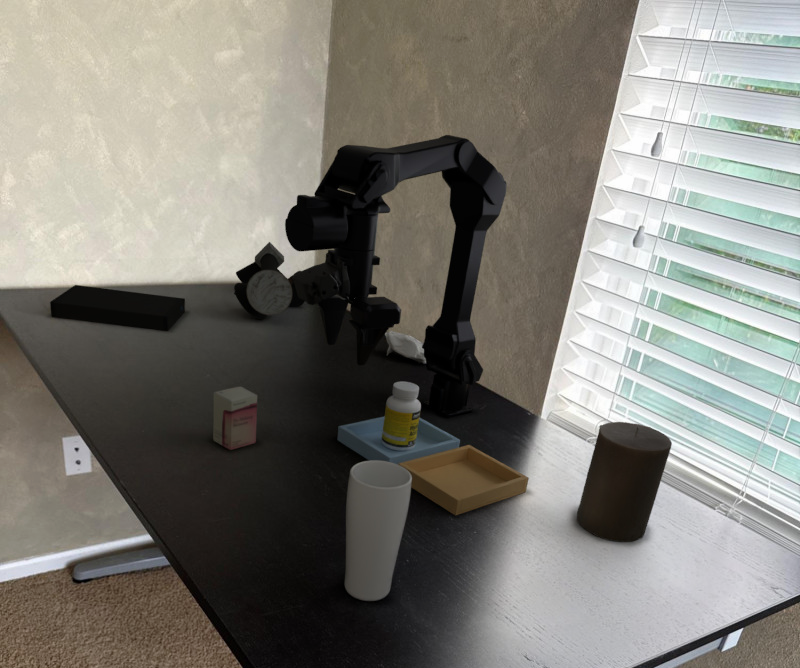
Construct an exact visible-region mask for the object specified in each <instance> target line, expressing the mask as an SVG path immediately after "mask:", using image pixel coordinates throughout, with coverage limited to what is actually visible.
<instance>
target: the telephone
mask: <svg viewBox="0 0 800 668" xmlns="http://www.w3.org/2000/svg"><path fill="white" fill-rule="evenodd" d="M284 263H285V256H284V254H283V253H281V251H280V250H278V248H276V246H275V245H274V244H272V242H271V241H268V242H267V244H265V246H264V247H262V249H261V250H260V251H259V252H258V253H257V254H256V255H255V256H254V262H251V263H249V264H248V265H246V266H244V267H243V268H241V269H239V270H236V272H235V275H236V277H237V278H238V280H239V281H240V282H236V283H235V284H234V287H233V290H234V292H233V295H235V296H236V300H237V301H238V302H239V304H240V306H241V307H242V308H243V309H244V310H245V311H246V312H247V313H248V314H249V315H250V316H252V317H254V318H255V319H257V320H266V319H267V317H268V316H276V315H279V314H281V313H283V312H284V311H285V310H287V309H288V307H292V308H298V307H300V306H303V304H304V303H306V301H304V300H303V299H300V298H298V294H297V291H296V287H295V284H294V280H293V275H294V274H296V273H298V272H301V271H302V270H298V271H296V272H294V274H292V275H291V276H290V277H288V278H287V277H286V276H285V274H283V273H282V272H281V271H280V270H279V268H280V266H282V265H283V264H284Z"/></svg>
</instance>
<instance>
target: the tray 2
mask: <svg viewBox="0 0 800 668" xmlns="http://www.w3.org/2000/svg"><path fill="white" fill-rule="evenodd" d="M398 465H400V466H402V467H404V468H405V469H406V470H408V471H409V472H410V474H411V476H412V483H411V489H413V490H415V491H416V492H417V493H419V494H420V495H423V496H424V497H425V498H427V499H429V500H430V501H432V502H434V503H435V504H436V505H438V506H440V507H441V508H443V509H444V510H445V511H448V512H449V513H451V514H452V515H454V516H458V515H462V514H465V513H467V512H470V511H473V510H477V509H479V508H482V507H485V506H489V505H491V504H495V503H497V502H501V501H503V500H507V499H509V498H513V497H515V496H518V495H521V494H524V493H527V488H528V483H529V480H530V477H528V476H526V475H525V474H523V473H521V472H520V471H517V469H516V470H515V468H512V467H510V466H508V465H506V464H505V463H503V462H501V461H500V460H498V459H496V458H494V457H492V456H490V455H488V454H487V453H485V452H483V451H481V450H479V449H478V448H475V447H474V446H472V445H471V444H467V445H463V446H459V448H455V449H451V450H447V451H443V452H440V453H436V454H432V455H428V456H425V457H421V458H417V459H413V460H409V461H406V462H403V463H399V464H398Z"/></svg>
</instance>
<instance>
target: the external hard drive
mask: <svg viewBox="0 0 800 668" xmlns="http://www.w3.org/2000/svg"><path fill="white" fill-rule="evenodd" d="M49 306H50V307H49V308H50V315H51V317H52V318H59V319H67V320H77V321H85V322H86V321H87V322H93V323H100V324H109V325H117V326H126V327H132V328H141V329H142V328H143V329H150V330H158V331H166V332H169V331H170V330H171V328H172V327H173V326H174V325H175V324H176V323H177V322H178V321H179V319H180V318H181V317H183V315H184V314H185V313H186V299H185V297H175V296H168V295H167V296H166V295H160V294H152V293H144V292H135V291H127V290H119V289H113V288H112V289H111V288H103V287H97V286H96V287H95V286H87V285H80V284H79V285H78V284H74V285H73V286H71V287H70V288H68V289H67V290H66V291H64V292H63V293H61V294H59V295H57V297H55V298H54V299H52V300H50V302H49Z"/></svg>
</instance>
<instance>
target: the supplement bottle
mask: <svg viewBox="0 0 800 668" xmlns="http://www.w3.org/2000/svg"><path fill="white" fill-rule="evenodd" d="M391 392H392V395H390V396H389V397H388V398H387V400H386V403H385V410H384V416H385V417H384V416H383V417H384V424H383V432H382V444H383V445H384V446H385V447H387V448H389V449H392V450H397V451H407V450H411V449H412V448H414V446H415V443H416V436H417V430H418V424H419V418H421V417H420V416H421V409H422V404H421V402H420V400H419V399H418V397H419V392H420V387H419V386H418V385H417V384H416V383H413V382H410V381H396V382H394V383H393V385H392V391H391Z"/></svg>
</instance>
